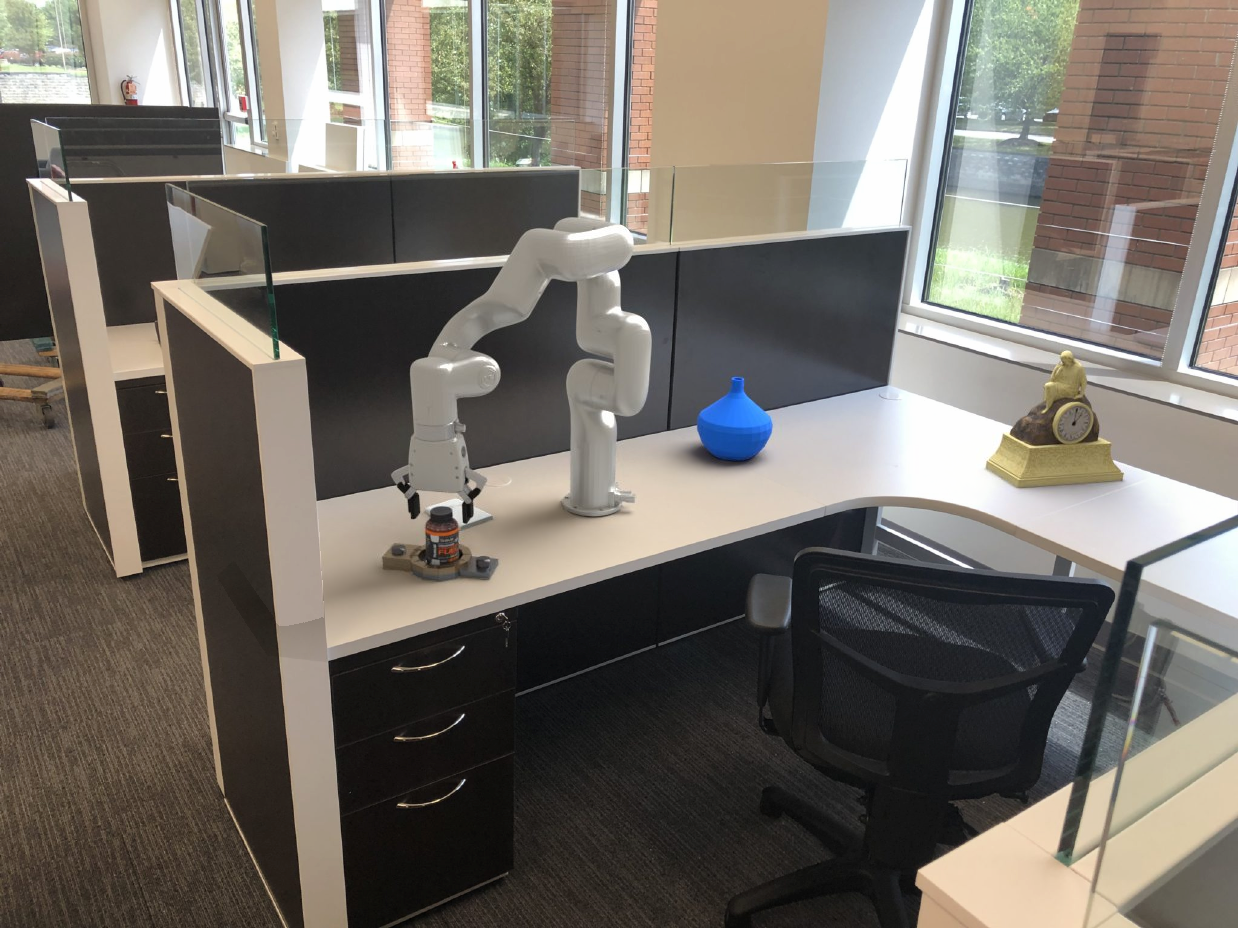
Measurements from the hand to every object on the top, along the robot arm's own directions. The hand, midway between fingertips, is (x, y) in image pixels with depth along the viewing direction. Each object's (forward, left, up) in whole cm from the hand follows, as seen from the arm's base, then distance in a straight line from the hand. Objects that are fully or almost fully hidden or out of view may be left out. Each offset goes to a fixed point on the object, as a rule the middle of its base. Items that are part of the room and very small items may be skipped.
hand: (441, 518), depth 174 cm
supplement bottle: (0, 0, -10) cm, 10 cm away
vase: (-50, -73, -10) cm, 89 cm away
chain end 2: (-2, 0, -9) cm, 10 cm away
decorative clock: (-126, -76, -10) cm, 148 cm away
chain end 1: (+3, 0, -9) cm, 10 cm away
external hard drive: (+4, -22, -10) cm, 25 cm away
